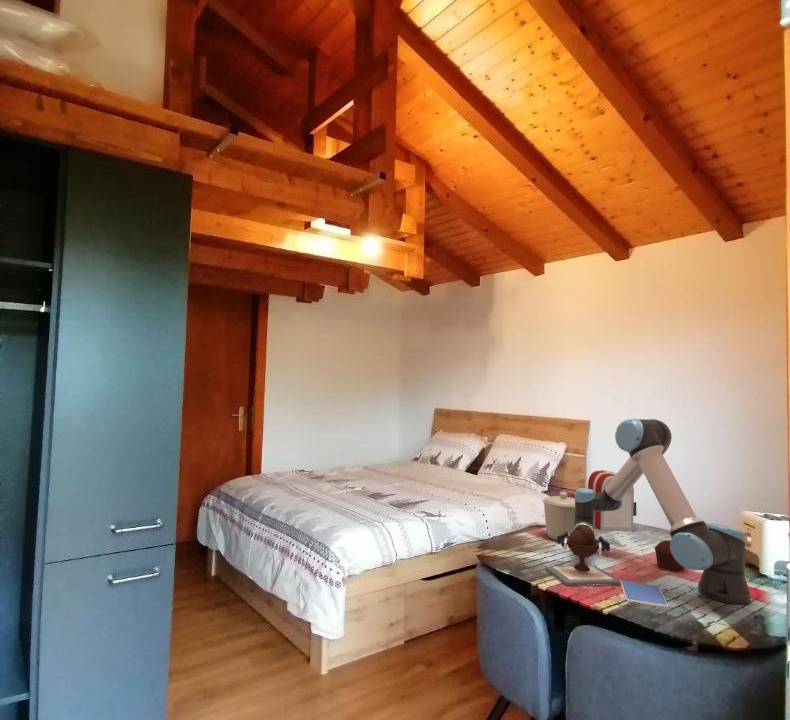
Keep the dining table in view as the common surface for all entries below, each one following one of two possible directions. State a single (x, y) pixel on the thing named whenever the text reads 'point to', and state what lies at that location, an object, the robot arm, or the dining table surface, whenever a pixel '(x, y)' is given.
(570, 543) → the ice cream bowl
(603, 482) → the striped arched panel rack
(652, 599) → the tablet computer
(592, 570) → the sheet
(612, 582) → the mat
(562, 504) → the canister
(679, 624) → the dining table surface
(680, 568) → the muffin
